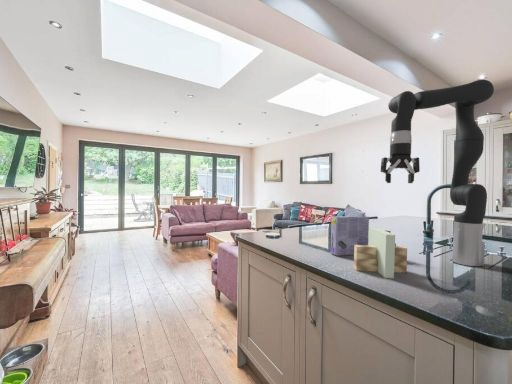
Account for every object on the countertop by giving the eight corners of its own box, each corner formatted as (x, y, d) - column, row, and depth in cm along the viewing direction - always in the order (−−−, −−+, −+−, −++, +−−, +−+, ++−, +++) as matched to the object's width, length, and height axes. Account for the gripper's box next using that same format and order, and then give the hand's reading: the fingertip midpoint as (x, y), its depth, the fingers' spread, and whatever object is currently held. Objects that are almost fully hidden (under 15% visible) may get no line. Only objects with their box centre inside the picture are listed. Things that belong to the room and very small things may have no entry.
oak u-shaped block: (402, 270, 96) (403, 246, 95) (406, 272, 93) (407, 248, 92) (353, 268, 97) (354, 244, 97) (356, 270, 94) (356, 246, 94)
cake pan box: (363, 251, 123) (364, 215, 123) (370, 253, 119) (371, 216, 118) (329, 253, 117) (330, 216, 117) (336, 256, 112) (337, 217, 112)
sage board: (375, 263, 103) (376, 227, 102) (393, 278, 87) (395, 234, 86) (367, 263, 103) (368, 227, 102) (384, 277, 87) (386, 234, 86)
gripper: (413, 145, 106) (412, 183, 106) (378, 144, 107) (377, 183, 107) (424, 141, 98) (422, 183, 99) (386, 141, 99) (385, 182, 100)
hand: (399, 183), depth 103 cm, fingers open, 8 cm apart
